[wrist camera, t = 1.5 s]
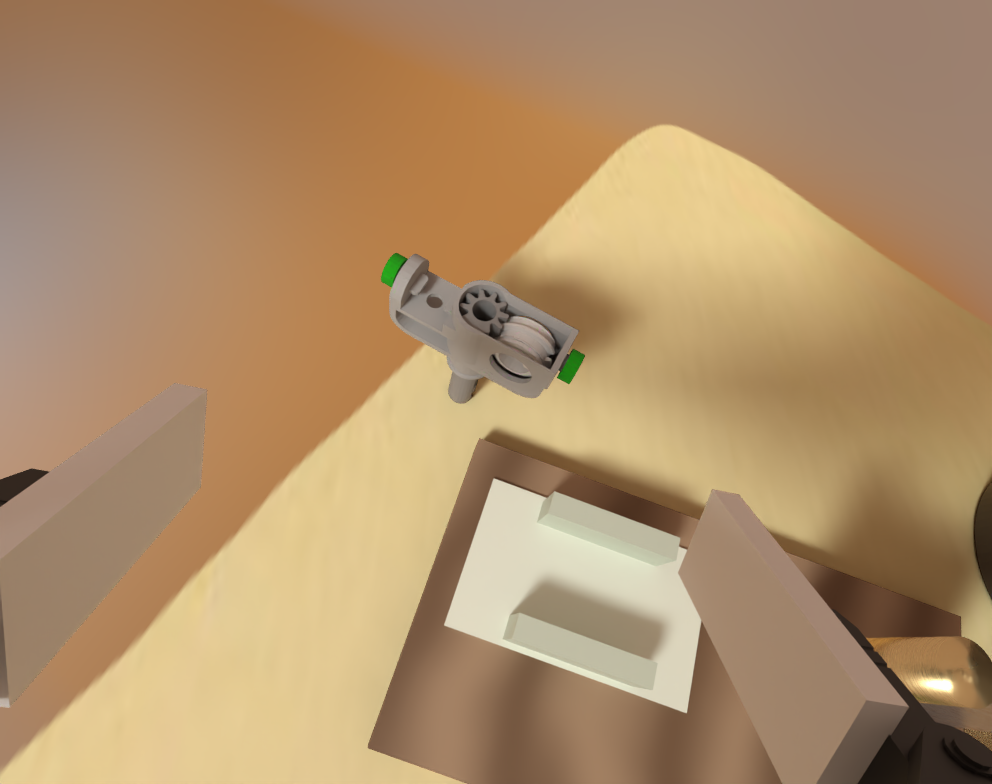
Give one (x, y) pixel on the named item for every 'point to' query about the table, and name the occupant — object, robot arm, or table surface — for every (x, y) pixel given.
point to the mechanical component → (480, 330)
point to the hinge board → (609, 644)
